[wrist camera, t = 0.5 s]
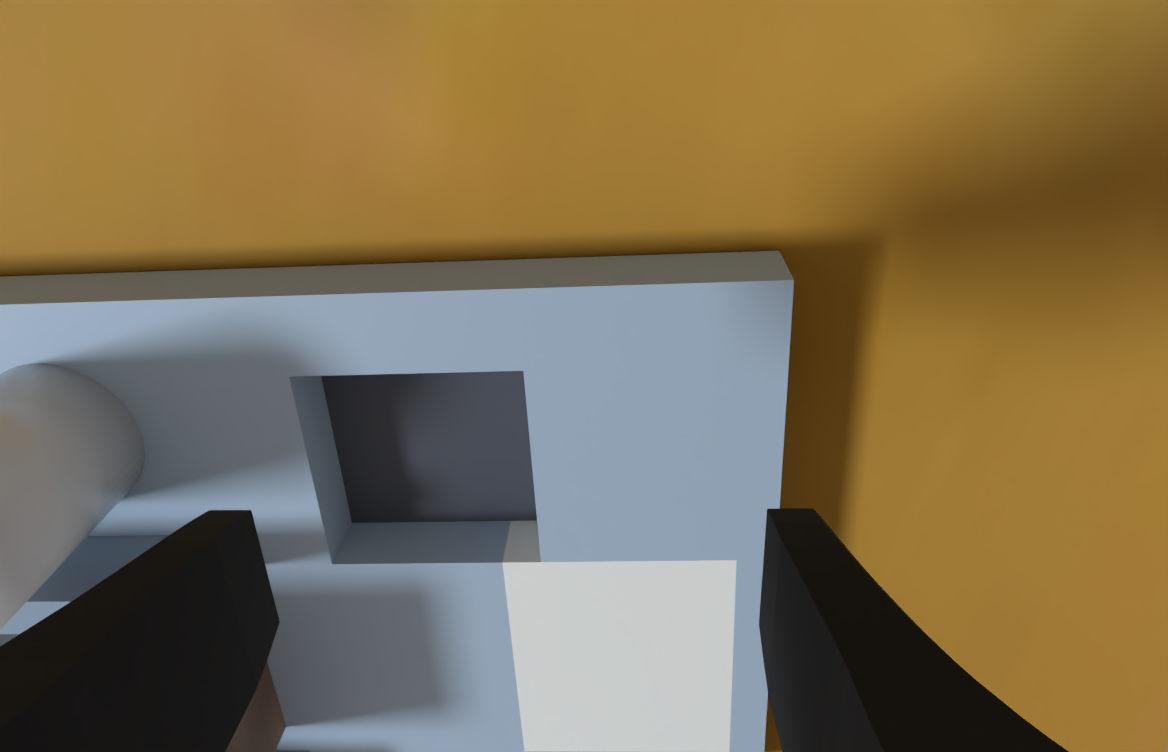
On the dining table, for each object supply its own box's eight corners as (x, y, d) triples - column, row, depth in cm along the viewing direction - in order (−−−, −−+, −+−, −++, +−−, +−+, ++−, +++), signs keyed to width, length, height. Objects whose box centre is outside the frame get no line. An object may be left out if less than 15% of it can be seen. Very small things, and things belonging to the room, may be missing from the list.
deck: (751, 753, 28) (772, 891, 24) (43, 751, 29) (-51, 879, 25) (779, 250, 20) (817, 326, 16) (-182, 282, 22) (-368, 358, 17)
